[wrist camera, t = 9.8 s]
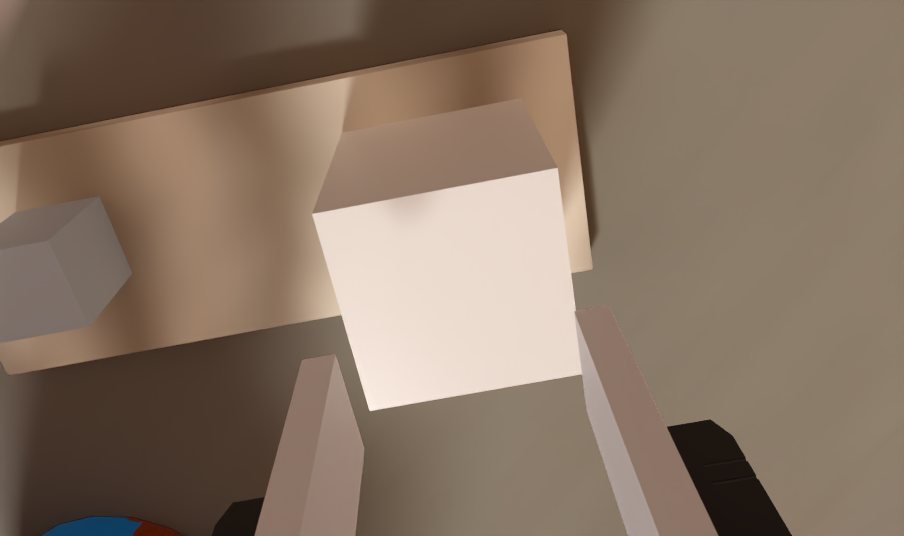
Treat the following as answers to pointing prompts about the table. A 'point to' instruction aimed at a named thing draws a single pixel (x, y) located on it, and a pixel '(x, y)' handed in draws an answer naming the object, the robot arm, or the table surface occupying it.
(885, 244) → the table surface
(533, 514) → the table surface
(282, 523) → the robot arm
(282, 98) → the board
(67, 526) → the thermos
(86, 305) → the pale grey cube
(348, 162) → the white tilted cube
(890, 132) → the table surface
